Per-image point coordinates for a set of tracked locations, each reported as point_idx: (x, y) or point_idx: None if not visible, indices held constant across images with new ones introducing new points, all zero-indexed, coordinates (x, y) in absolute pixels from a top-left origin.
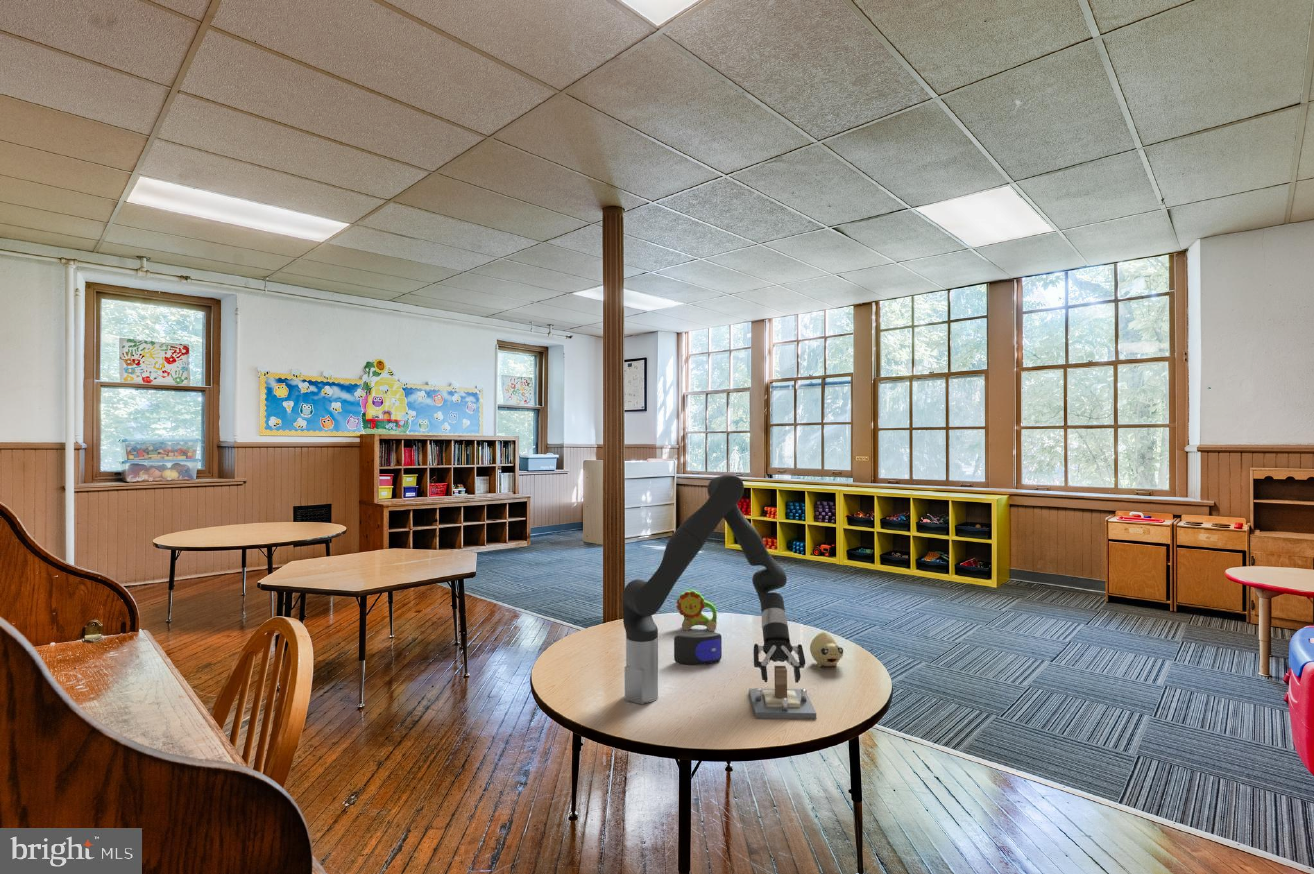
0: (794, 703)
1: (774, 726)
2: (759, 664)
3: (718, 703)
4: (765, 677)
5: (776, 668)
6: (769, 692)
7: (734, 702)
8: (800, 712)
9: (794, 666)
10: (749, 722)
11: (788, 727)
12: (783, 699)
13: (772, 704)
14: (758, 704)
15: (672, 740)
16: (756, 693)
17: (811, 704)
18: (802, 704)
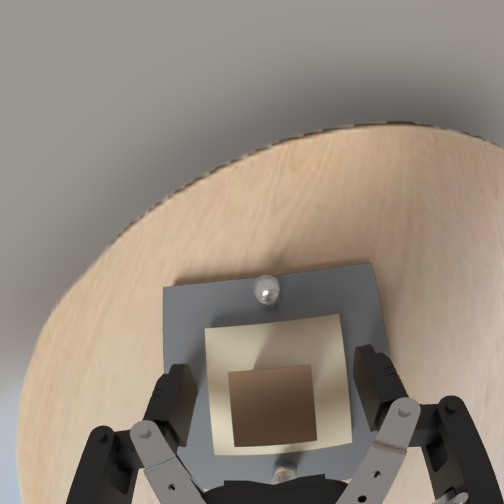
0: (227, 327)
1: (306, 223)
2: (425, 410)
3: (474, 351)
4: (370, 348)
5: (306, 387)
6: (324, 423)
7: (436, 375)
8: (214, 285)
9: (170, 444)
10: (379, 237)
11: (264, 224)
12: (272, 277)
13: (316, 317)
14: (367, 330)
15: (481, 151)
16: None
17: (165, 356)
18: (197, 354)
